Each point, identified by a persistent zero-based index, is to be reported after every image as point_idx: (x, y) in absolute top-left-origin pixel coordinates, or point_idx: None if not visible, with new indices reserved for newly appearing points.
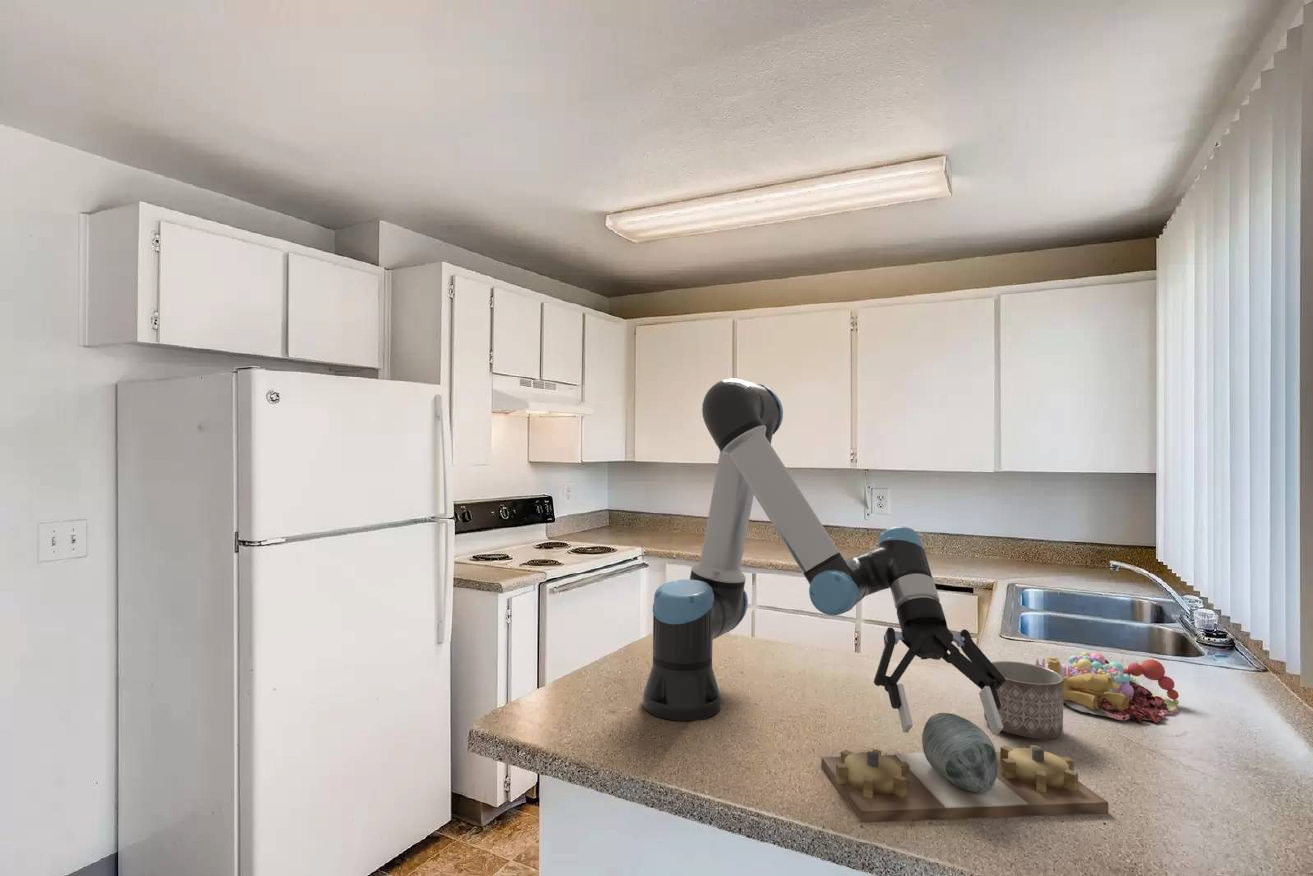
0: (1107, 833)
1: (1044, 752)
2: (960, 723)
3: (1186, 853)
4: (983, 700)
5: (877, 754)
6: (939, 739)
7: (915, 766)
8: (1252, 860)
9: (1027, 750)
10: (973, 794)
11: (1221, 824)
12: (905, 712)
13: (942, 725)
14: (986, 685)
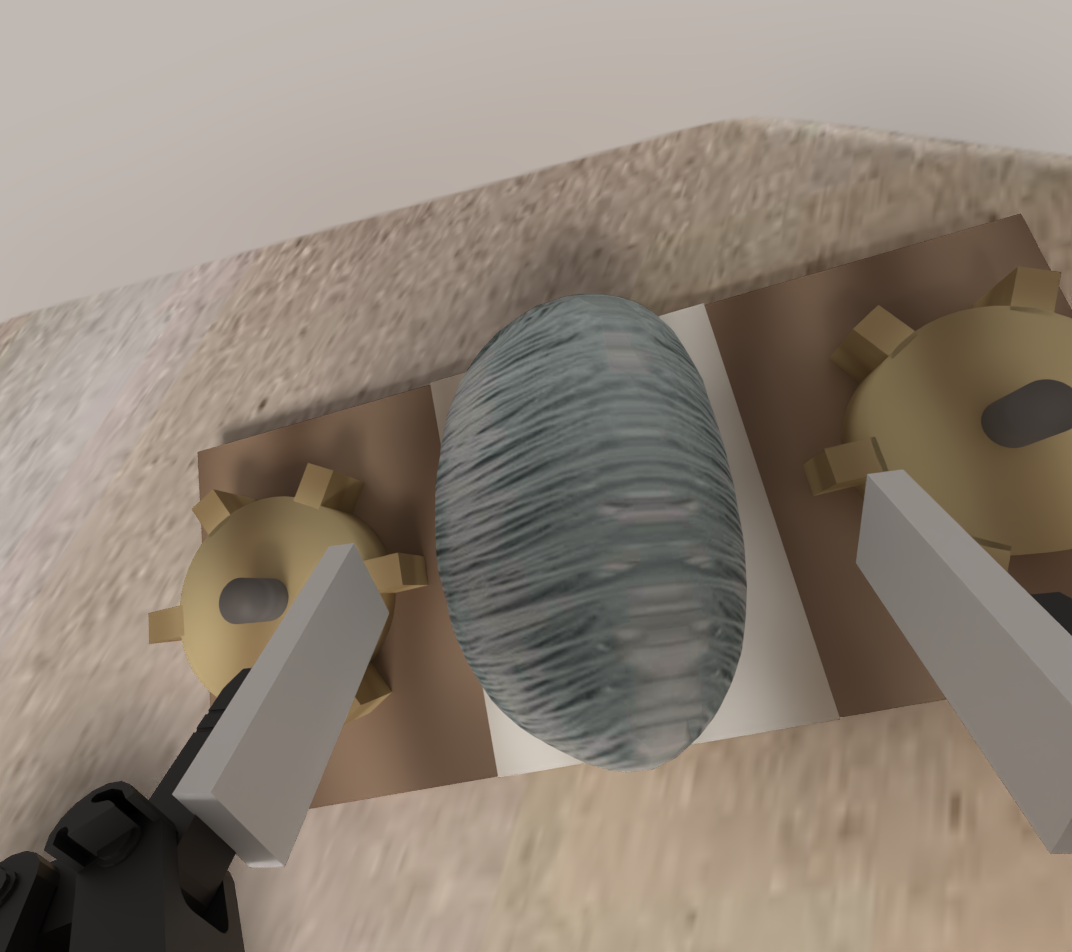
0: (283, 355)
1: (212, 673)
2: (567, 471)
3: (167, 311)
4: (301, 766)
5: (1022, 402)
6: (701, 431)
7: (756, 593)
8: (62, 318)
9: None
10: None
11: (5, 458)
12: (949, 524)
13: (670, 498)
14: (182, 849)
